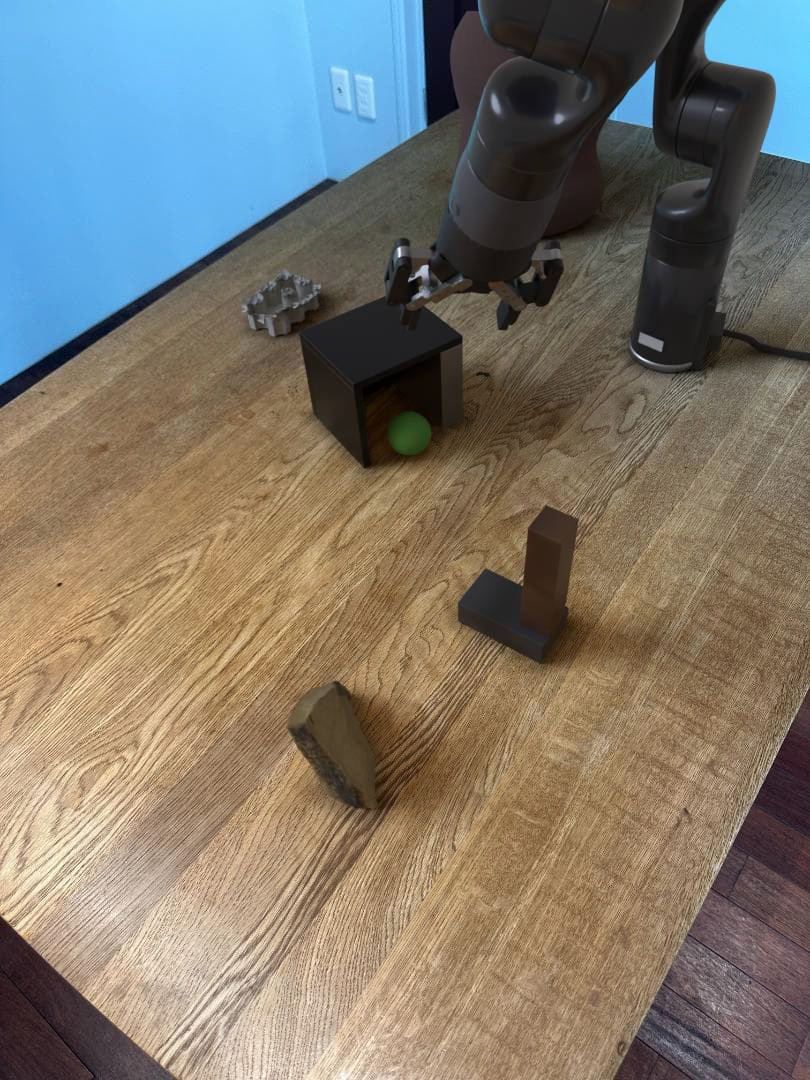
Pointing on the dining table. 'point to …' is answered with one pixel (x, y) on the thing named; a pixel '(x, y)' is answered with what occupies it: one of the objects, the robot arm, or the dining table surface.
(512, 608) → the post on dark base
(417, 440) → the ball
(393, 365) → the black open box
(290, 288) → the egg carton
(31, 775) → the dining table surface
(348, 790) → the rock
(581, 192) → the vase
